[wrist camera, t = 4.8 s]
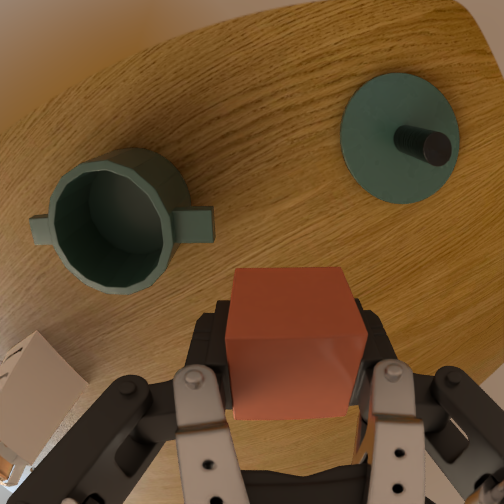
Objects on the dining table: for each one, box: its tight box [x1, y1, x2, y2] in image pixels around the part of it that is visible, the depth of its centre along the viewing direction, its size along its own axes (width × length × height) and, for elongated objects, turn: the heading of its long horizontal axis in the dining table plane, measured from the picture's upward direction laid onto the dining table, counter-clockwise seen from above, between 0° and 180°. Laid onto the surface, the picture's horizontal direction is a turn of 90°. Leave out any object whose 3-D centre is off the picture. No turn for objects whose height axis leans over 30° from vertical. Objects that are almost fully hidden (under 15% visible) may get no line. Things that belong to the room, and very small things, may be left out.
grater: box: [0, 330, 88, 487], centre depth 29 cm, size 10×10×20 cm
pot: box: [29, 148, 215, 295], centre depth 25 cm, size 10×16×6 cm, turn 91°
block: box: [225, 267, 368, 420], centre depth 11 cm, size 4×4×4 cm
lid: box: [340, 73, 459, 204], centre depth 21 cm, size 11×11×7 cm
